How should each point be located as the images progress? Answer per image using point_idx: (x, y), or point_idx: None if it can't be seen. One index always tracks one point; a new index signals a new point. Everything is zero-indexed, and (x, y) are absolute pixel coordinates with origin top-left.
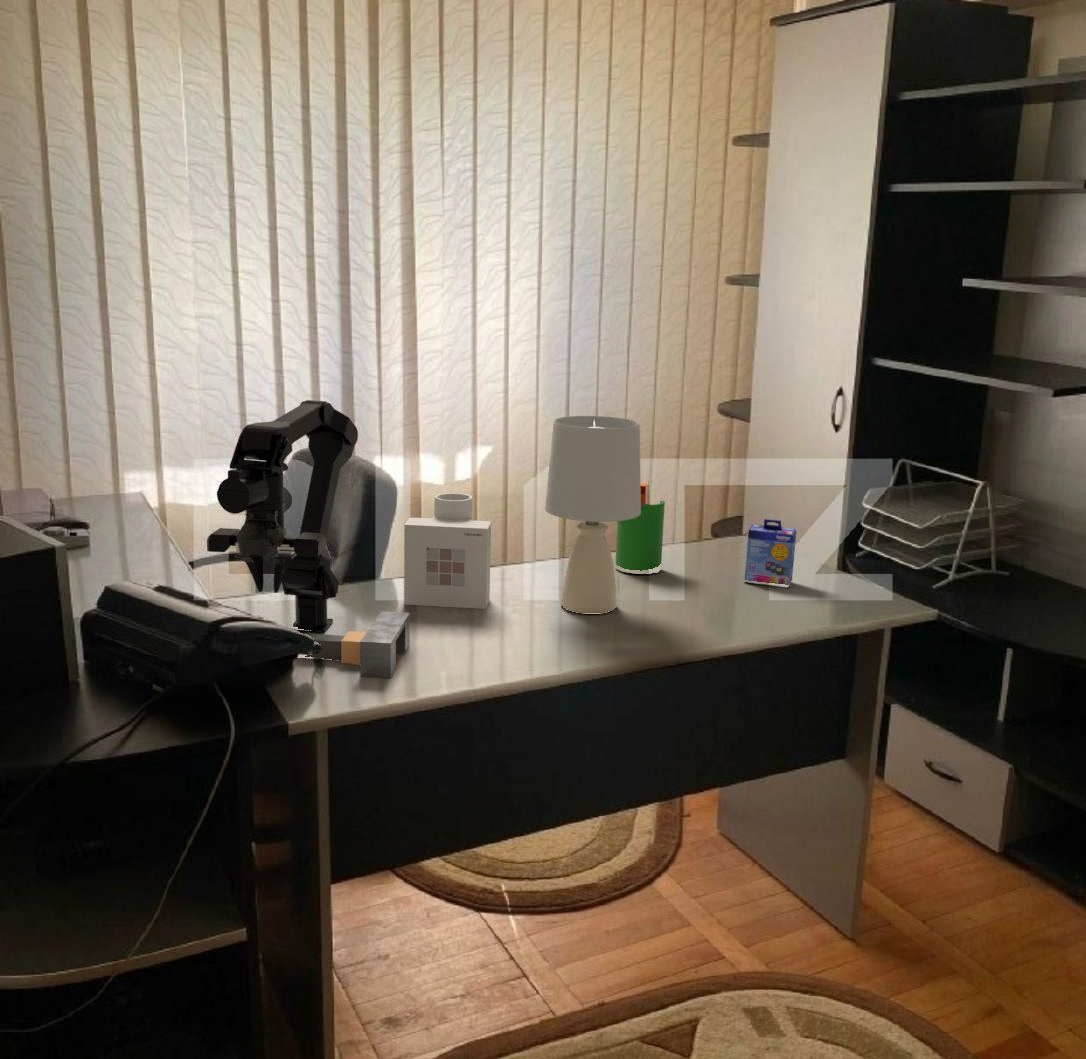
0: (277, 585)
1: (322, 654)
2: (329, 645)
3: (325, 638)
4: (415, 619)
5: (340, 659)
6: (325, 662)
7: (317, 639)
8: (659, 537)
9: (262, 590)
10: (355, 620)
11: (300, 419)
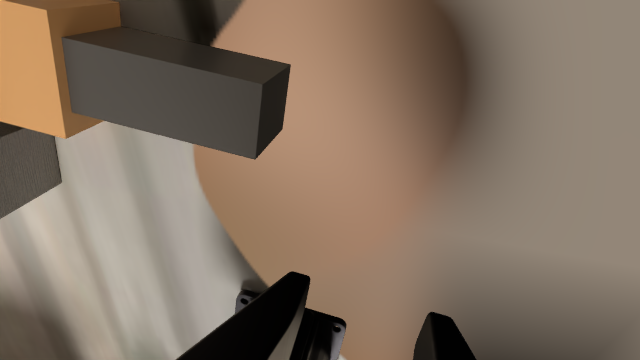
0: (251, 305)
1: (181, 46)
2: (129, 46)
3: (141, 84)
4: (50, 335)
5: (125, 28)
6: (176, 14)
7: (169, 72)
8: None
9: (417, 339)
10: None
11: None
